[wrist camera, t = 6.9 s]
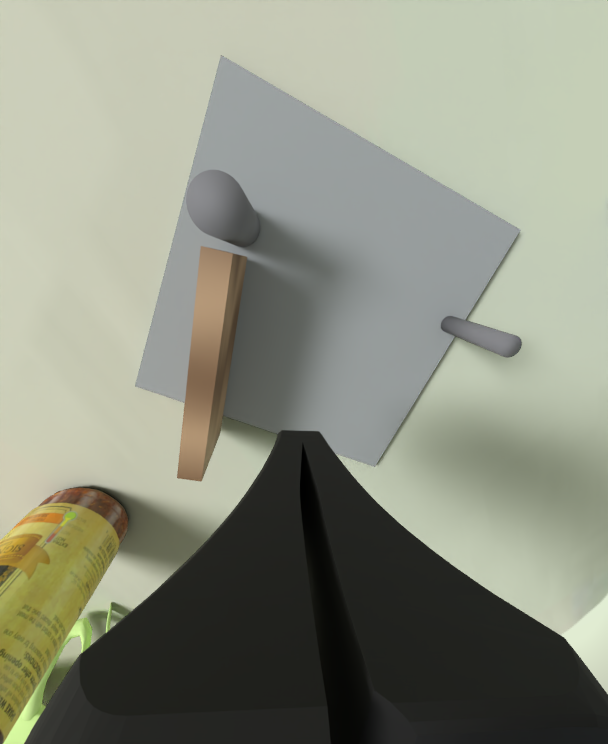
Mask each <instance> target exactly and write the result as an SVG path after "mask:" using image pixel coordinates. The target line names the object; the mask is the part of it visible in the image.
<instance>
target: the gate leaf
mask: <svg viewBox="0 0 608 744" xmlns="http://www.w3.org/2000/svg"><path fill="white" fill-rule="evenodd" d="M246 262H247V257H246V256H242V255H238V254H234V253H230V252H226V251H221V250H217V249H213V248H208V247H204V246H201V248H200V258H199V268H198V278H197V287H196V297H195V307H194V317H193V327H192V337H191V346H190V356H189V366H188V376H187V386H186V396H185V406H184V415H183V425H182V435H181V445H180V455H179V465H178V474H177V478H181V479H188V480H195V481H202V479H203V476H204V474H205V471H206V468H207V466H208V463H209V461H210V458H211V456H212V453H213V451H214V448H215V445H216V443H217V440H218V438H219V435H220V431H221V424H222V418H223V411H224V405H225V399H226V392H227V386H228V379H229V373H230V366H231V360H232V353H233V347H234V340H235V334H236V327H237V321H238V314H239V308H240V301H241V295H242V288H243V282H244V275H245V269H246Z"/></svg>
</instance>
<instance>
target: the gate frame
mask: <svg viewBox="0 0 608 744" xmlns="http://www.w3.org/2000/svg"><path fill="white" fill-rule="evenodd" d="M519 232H520V229H518V228H517V227H515V226H513V225H512V224H510V223H508V222H506V221H505V220H503V219H501V218H500V217H498V216H496V215H494V214H493V213H491V212H489V211H488V210H486V209H484V208H482V207H481V206H479V205H477V204H476V203H474V202H472V201H470V200H469V199H467V198H465V197H464V196H462V195H460V194H458V193H457V192H455V191H453V190H452V189H450V188H448V187H446V186H445V185H443V184H441V183H440V182H438V181H436V180H434V179H433V178H431V177H429V176H428V175H426V174H424V173H422V172H421V171H419V170H417V169H416V168H414V167H412V166H410V165H409V164H407V163H405V162H404V161H402V160H400V159H398V158H397V157H395V156H393V155H392V154H390V153H388V152H386V151H385V150H383V149H381V148H380V147H378V146H376V145H374V144H373V143H371V142H369V141H368V140H366V139H364V138H362V137H361V136H359V135H357V134H356V133H354V132H352V131H350V130H349V129H347V128H345V127H344V126H342V125H340V124H338V123H337V122H335V121H333V120H332V119H330V118H328V117H327V116H325V115H323V114H321V113H320V112H318V111H316V110H315V109H313V108H311V107H309V106H308V105H306V104H304V103H303V102H301V101H299V100H297V99H296V98H294V97H292V96H291V95H289V94H287V93H285V92H284V91H282V90H280V89H279V88H277V87H275V86H273V85H272V84H270V83H268V82H267V81H265V80H263V79H261V78H260V77H258V76H256V75H255V74H253V73H251V72H249V71H248V70H246V69H244V68H243V67H241V66H239V65H237V64H236V63H234V62H232V61H231V60H229V59H227V58H225V57H224V56H222V55H221V57H220V61H219V65H218V69H217V73H216V77H215V80H214V84H213V88H212V92H211V96H210V100H209V103H208V107H207V111H206V115H205V119H204V123H203V127H202V130H201V134H200V138H199V142H198V146H197V150H196V153H195V157H194V161H193V165H192V169H191V173H190V176H189V180H188V184H187V188H186V192H185V196H184V200H183V203H182V207H181V211H180V215H179V219H178V223H177V226H176V230H175V234H174V238H173V242H172V246H171V250H170V253H169V257H168V261H167V265H166V269H165V273H164V276H163V280H162V284H161V288H160V292H159V296H158V299H157V303H156V307H155V311H154V315H153V319H152V323H151V326H150V330H149V334H148V338H147V342H146V346H145V349H144V353H143V357H142V361H141V365H140V369H139V373H138V376H137V380H136V384H135V386H136V387H139V388H142V389H145V390H148V391H151V392H154V393H157V394H160V395H163V396H166V397H169V398H172V399H175V400H178V401H181V402H184V403H185V396H186V386H187V376H188V366H189V356H190V346H191V337H192V327H193V317H194V307H195V297H196V287H197V278H198V268H199V258H200V248H201V246H204V247H208V248H213V249H217V250H221V251H226V252H230V253H234V254H238V255H242V256H246V257H247V262H246V269H245V275H244V282H243V288H242V295H241V301H240V308H239V314H238V321H237V327H236V334H235V340H234V347H233V353H232V360H231V366H230V373H229V379H228V386H227V392H226V399H225V405H224V411H223V416H225V417H228V418H231V419H234V420H237V421H240V422H243V423H246V424H249V425H252V426H255V427H258V428H261V429H264V430H267V431H270V432H273V433H276V434H278V433H279V432H280V431H281V430H294V431H319V432H320V433H321V434H322V435H323V437H324V438H325V440H326V441H327V443H328V444H329V446H330V447H331V449H332V450H333V451H334V453H335V454H338V455H341V456H344V457H347V458H350V459H353V460H356V461H359V462H362V463H365V464H368V465H371V466H374V467H375V466H376V464H377V462H378V461H379V459H380V457H381V456H382V454H383V453H384V451H385V449H386V448H387V446H388V444H389V443H390V441H391V440H392V438H393V436H394V435H395V433H396V431H397V430H398V428H399V427H400V425H401V423H402V422H403V420H404V418H405V417H406V415H407V414H408V412H409V410H410V409H411V407H412V405H413V404H414V402H415V401H416V399H417V397H418V396H419V394H420V393H421V391H422V389H423V388H424V386H425V384H426V383H427V381H428V380H429V378H430V376H431V375H432V373H433V371H434V370H435V368H436V367H437V365H438V363H439V362H440V360H441V358H442V357H443V355H444V354H445V352H446V350H447V349H448V347H449V345H450V344H451V342H452V341H453V339H454V337H455V336H456V337H458V338H461V339H463V340H465V341H468V342H470V343H473V344H475V345H477V346H480V347H482V348H484V349H487V350H489V351H492V352H494V353H496V354H499V355H501V356H503V357H512V356H514V355H515V354H517V353H518V351H519V350H520V348H521V345H522V342H521V339H520V338H519V337H518V336H515V335H512V334H509V333H506V332H502V331H499V330H496V329H493V328H489V327H486V326H483V325H480V324H476V323H473V322H470V321H467V320H465V319H466V318H467V316H468V315H469V313H470V311H471V310H472V308H473V306H474V305H475V303H476V302H477V300H478V298H479V297H480V295H481V293H482V292H483V290H484V289H485V287H486V285H487V284H488V282H489V280H490V279H491V277H492V276H493V274H494V272H495V271H496V269H497V267H498V266H499V264H500V263H501V261H502V259H503V258H504V256H505V255H506V253H507V251H508V250H509V248H510V246H511V245H512V243H513V242H514V240H515V238H516V237H517V235H518V233H519Z"/></svg>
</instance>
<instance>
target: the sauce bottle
mask: <svg viewBox="0 0 608 744" xmlns="http://www.w3.org/2000/svg"><path fill="white" fill-rule="evenodd" d="M127 527H128V517H127V514H126V512H125V509H124V507H123V506H122V505H120V504H119V503H118V501H116V500H115V499H113V498H112V497H111V496H109V495H107V494H106V493H104V492H102V491H99V490H96V489H91V488H70V489H65V490H62V491H59V492H57V493H55V494H54V495H52V496H50V497H49V498H47V499H46V500H45V501H43V502H42V503H41V504H40V505H39V506H38V507H37V508H35V509H33V510H32V511H31V512H30V513H28V514H27V515H26V516H25V517H24V518H23V519H22V520H21V521H20V522H19V523H18V524H17V525H16V526H15V527H14V528H13V529H12V530H11V531H10V532H9V533H8V534H7V535H6V536H5V537H4V538H3V539H1V540H0V744H3V743H4V741H5V740H6V738H7V736H8V735H9V733H10V731H11V730H12V728H13V726H14V725H15V723H16V721H17V720H18V718H19V716H20V715H21V713H22V711H23V710H24V708H25V706H26V705H27V703H28V701H29V700H30V698H31V696H32V694H33V693H34V691H35V689H36V688H37V686H38V684H39V683H40V681H41V679H42V678H43V676H44V674H45V673H46V671H47V669H48V668H49V666H50V664H51V663H52V661H53V659H54V658H55V656H56V654H57V653H58V651H59V649H60V648H61V646H62V644H63V643H64V641H65V639H66V638H67V636H68V634H69V633H70V631H71V629H72V628H73V626H74V624H75V623H76V621H77V619H78V618H79V616H80V614H81V613H82V611H83V609H84V608H85V606H86V604H87V603H88V601H89V599H90V598H91V596H92V594H93V593H94V591H95V589H96V588H97V586H98V584H99V583H100V581H101V579H102V577H103V576H104V574H105V572H106V571H107V569H108V567H109V566H110V564H111V562H112V560H113V559H114V557H115V555H116V554H117V551H118V549H119V545H120V543H121V542H122V540H123V538H124V536H125V535H126V532H127V530H128V528H127Z"/></svg>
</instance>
